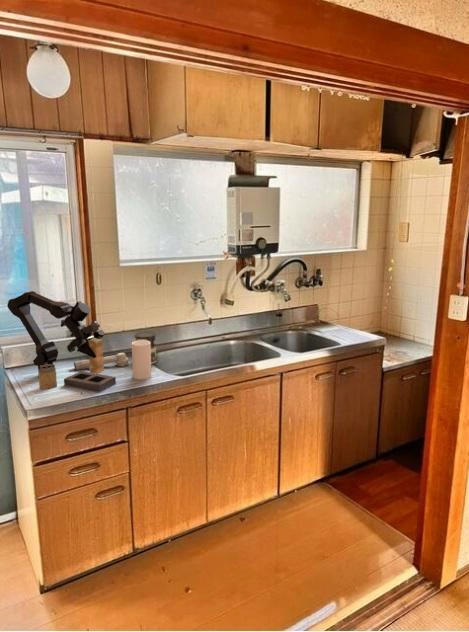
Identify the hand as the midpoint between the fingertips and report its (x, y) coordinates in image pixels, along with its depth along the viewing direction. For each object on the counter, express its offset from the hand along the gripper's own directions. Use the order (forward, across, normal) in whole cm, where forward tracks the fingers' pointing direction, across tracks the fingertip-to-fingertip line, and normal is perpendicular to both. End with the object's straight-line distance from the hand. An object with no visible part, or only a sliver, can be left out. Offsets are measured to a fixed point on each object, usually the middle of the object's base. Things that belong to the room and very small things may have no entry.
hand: (98, 356), depth 195 cm
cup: (+16, +18, +3) cm, 24 cm away
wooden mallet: (-1, +21, +21) cm, 29 cm away
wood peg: (+4, 0, +6) cm, 7 cm away
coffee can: (+9, +37, +10) cm, 39 cm away
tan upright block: (-4, -10, +23) cm, 25 cm away
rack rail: (+6, 0, +13) cm, 14 cm away
